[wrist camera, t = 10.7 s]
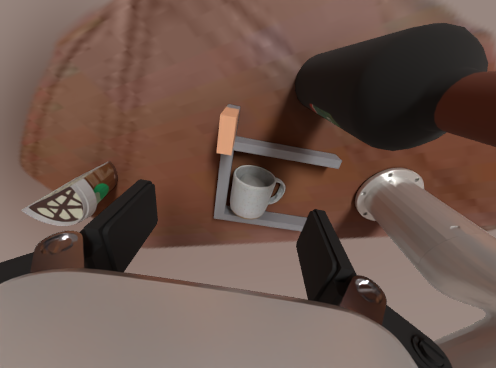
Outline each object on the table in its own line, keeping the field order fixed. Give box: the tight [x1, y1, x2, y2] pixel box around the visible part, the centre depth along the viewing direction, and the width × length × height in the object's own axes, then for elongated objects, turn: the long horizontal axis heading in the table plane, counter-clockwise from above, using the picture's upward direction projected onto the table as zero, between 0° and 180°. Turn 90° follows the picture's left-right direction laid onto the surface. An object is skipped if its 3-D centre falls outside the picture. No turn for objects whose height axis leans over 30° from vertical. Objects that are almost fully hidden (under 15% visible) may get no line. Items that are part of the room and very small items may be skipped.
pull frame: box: [214, 104, 342, 231], centre depth 33 cm, size 20×22×9 cm
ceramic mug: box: [230, 165, 285, 219], centre depth 35 cm, size 11×8×8 cm
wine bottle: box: [295, 23, 496, 151], centre depth 16 cm, size 8×8×30 cm
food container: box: [22, 161, 118, 226], centre depth 34 cm, size 12×6×10 cm, turn 114°
